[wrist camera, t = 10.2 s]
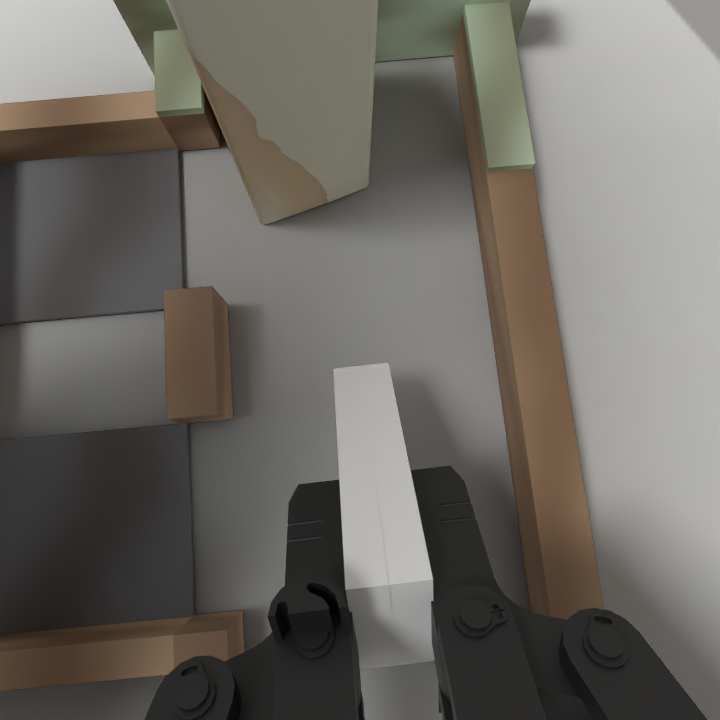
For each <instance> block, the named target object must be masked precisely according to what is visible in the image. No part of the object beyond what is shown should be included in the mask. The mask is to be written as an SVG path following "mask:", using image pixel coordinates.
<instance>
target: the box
mask: <svg viewBox="0 0 720 720" xmlns="http://www.w3.org/2000/svg"><path fill="white" fill-rule="evenodd" d="M166 2H167V4H168V6H169V9H170V11H171V13H172V16H173V18H174V20H175V23H176V25H177V27H178V30H179V32H180V34H181V37H182V39H183V41H184V44H185V46H186V48H187V51H188V53H189V55H190V58H191V60H192V62H193V65H194V67H195V69H196V72H197V74H198V76H199V79H200V81H201V83H202V86H203V88H204V90H205V93H206V95H207V97H208V100H209V102H210V104H211V107H212V109H213V111H214V114H215V116H216V118H217V121H218V123H219V126H220V128H221V131H222V133H223V135H224V138H225V140H226V142H227V145H228V147H229V150H230V152H231V154H232V157H233V159H234V161H235V164H236V166H237V168H238V171H239V173H240V175H241V178H242V180H243V182H244V184H245V187H246V189H247V191H248V194H249V196H250V198H251V201H252V203H253V206H254V208H255V210H256V213H257V215H258V217H259V219H260V221H261V223H263V224H269V223H272V222H275V221H278V220H281V219H284V218H286V217H289V216H292V215H295V214H298V213H301V212H304V211H306V210H309V209H312V208H315V207H317V206H320V205H323V204H325V203H328V202H331V201H333V200H336V199H339V198H341V197H344V196H346V195H349V194H351V193H354V192H357V191H359V190H362V189H364V188H366V187H367V186H368V184H369V171H370V149H371V131H372V113H373V94H374V74H375V53H376V33H377V15H378V0H166Z"/></svg>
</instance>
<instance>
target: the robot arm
mask: <svg viewBox="0 0 720 720" xmlns="http://www.w3.org/2000/svg"><path fill="white" fill-rule="evenodd" d="M333 375H334V393H335V411H336V429H337V447H338V465H339V480H334V481H325V482H316V483H307V484H299V485H298V487H297V488H296V490H295V492H294V494H293V496H292V498H291V500H290V502H289V510H288V531H287V553H286V574H285V587H283V588H282V589H281V590H280V591H279V592H278V594H277V595H276V596H275V598H274V599H273V601H272V602H271V606H270V609H269V613H268V619H269V622H270V625H271V629H272V633H271V634H270V635H269V636H268V637H267V638H266V639H265V640H264V641H263V642H262V643H260V644H258V645H257V646H255V647H253V648H252V649H250V650H248V651H246V652H244V653H241V654H239V655H237V656H235V657H233V658H231V659H229V660H226V661H223V660H221V659H218V658H216V657H213V656H210V655H207V656H195V657H193V658H191V659H188V660H186V661H184V662H182V663H180V664H179V665H178V666H177V667H176V668H174V669H173V670H172V671H171V672H170V673H169V674H168V675H167V676H166V678H165V679H164V681H163V682H162V684H161V686H160V687H159V689H158V690H157V692H156V695H155V697H154V699H153V702H152V704H151V706H150V708H149V711H148V713H147V715H146V718H145V720H365V717H364V703H363V698H362V692H361V679H360V670H365V669H373V668H381V667H390V666H398V665H407V664H415V663H423V662H432V661H434V658H435V664H436V669H437V674H438V680H439V713H442V715H443V720H707V719H706V717H705V716H704V715H703V714H702V712H701V711H700V710H699V708H698V707H697V706H696V705H695V703H694V702H693V701H692V699H691V698H690V697H689V696H688V694H687V693H686V692H685V690H684V689H683V688H682V687H681V685H680V684H679V683H678V681H677V680H676V679H675V678H674V676H673V675H672V674H671V673H670V671H669V670H668V669H667V667H666V666H665V665H664V664H663V662H662V661H661V660H660V658H659V657H658V656H657V655H656V653H655V652H654V651H653V649H652V648H651V647H650V646H649V644H648V643H647V642H646V640H645V639H644V638H643V637H642V635H641V634H640V633H639V632H638V631H637V630H636V629H635V628H634V627H633V626H632V625H631V624H630V623H629V622H628V621H627V620H626V619H624V618H622V617H621V616H619V615H617V614H615V613H613V612H611V611H608V610H603V609H598V608H589V609H583V610H579V611H578V612H576V613H575V614H573V615H572V616H570V617H569V618H568V620H566V619H561V618H556V617H551V616H546V615H541V614H537V613H533V612H530V611H527V610H525V609H523V608H521V607H519V606H517V605H516V604H514V603H513V602H512V601H511V600H509V599H508V598H507V597H506V596H505V595H504V594H503V592H502V591H501V590H500V588H499V587H498V585H497V583H496V581H495V578H494V576H493V572H492V569H491V566H490V563H489V560H488V556H487V553H486V550H485V547H484V544H483V540H482V537H481V534H480V531H479V528H478V524H477V521H476V520H475V515H474V512H473V508H472V505H471V504H470V499H469V495H468V492H467V489H466V486H465V483H464V481H463V480H462V479H461V477H460V476H459V475H458V474H457V473H456V472H455V471H454V470H453V469H452V467H451V466H444V467H436V468H427V469H418V470H410V465H409V461H408V456H407V451H406V446H405V441H404V436H403V432H402V427H401V422H400V417H399V412H398V407H397V402H396V398H395V393H394V388H393V383H392V378H391V373H390V369H389V364H388V362H387V363H378V364H369V365H360V366H351V367H342V368H334V369H333Z"/></svg>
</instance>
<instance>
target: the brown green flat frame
mask: <svg viewBox="0 0 720 720" xmlns="http://www.w3.org/2000/svg"><path fill="white" fill-rule="evenodd" d="M113 1H114V2H115V4H116V6H117V8H118V10H119V12H120V13H121V15H122V17H123V19H124V21H125V23H126V24H127V26H128V28H129V30H130V32H131V34H132V35H133V37H134V39H135V41H136V43H137V45H138V46H139V48H140V50H141V52H142V54H143V56H144V57H145V59H146V61H147V63H148V65H149V67H150V68H151V70H152V72H153V74H154V76H155V91H145V92H133V93H121V94H110V95H98V96H86V97H75V98H63V99H51V100H39V101H28V102H16V103H4V104H0V325H4V324H15V323H26V322H37V321H48V320H59V319H71V318H82V317H93V316H104V315H115V314H126V313H137V312H149V311H160V310H164V319H165V357H166V394H167V419H169V420H174V421H179V422H184V423H182V424H171V425H161V426H150V427H139V428H128V429H117V430H106V431H95V432H84V433H73V434H63V435H52V436H41V437H30V438H19V439H8V440H0V691H5V690H15V689H26V688H36V687H46V686H57V685H67V684H77V683H88V682H98V681H108V680H119V679H129V678H139V677H150V676H160V675H168V674H169V673H170V672H171V671H172V670H173V669H174V668H176V667H177V666H178V665H179V664H180V663H182V662H184V661H186V660H188V659H191V658H193V657H195V656H207V655H210V656H213V657H216V658H218V659H221V660H223V661H226V660H229V659H231V658H233V657H235V656H237V655H239V654H241V653H244V652H245V647H244V626H243V610H239V611H228V612H218V613H207V614H197V615H195V599H194V569H193V540H192V510H191V480H190V451H189V423H199V422H210V421H221V420H232V419H233V401H232V380H231V360H230V339H229V319H228V304H227V303H226V302H225V301H224V300H223V298H222V297H221V296H220V295H219V294H218V293H217V292H216V290H215V289H214V288H213V287H212V286H210V287H199V288H187V289H184V273H183V244H182V214H181V185H180V155H179V151H186V150H198V149H209V148H220V135H219V123H218V121H217V118H216V116H215V114H214V111H213V109H212V107H211V104H210V102H209V100H208V97H207V95H206V93H205V90H204V88H203V86H202V83H201V81H200V79H199V76H198V74H197V72H196V69H195V67H194V65H193V62H192V60H191V58H190V55H189V53H188V51H187V48H186V46H185V44H184V41H183V39H182V37H181V34H180V32H179V30H178V27H177V25H176V23H175V20H174V18H173V16H172V13H171V11H170V9H169V6H168V4H167V2H166V0H113ZM530 1H531V0H378V15H377V33H376V53H375V62H379V61H391V60H403V59H414V58H426V57H438V56H449V55H454V62H455V69H456V76H457V84H458V91H459V98H460V105H461V112H462V120H463V127H464V134H465V141H466V148H467V156H468V163H469V170H470V177H471V184H472V191H473V199H474V206H475V213H476V220H477V227H478V235H479V242H480V249H481V256H482V263H483V271H484V278H485V285H486V292H487V299H488V307H489V314H490V321H491V328H492V335H493V342H494V350H495V357H496V364H497V371H498V378H499V386H500V393H501V400H502V407H503V414H504V422H505V429H506V436H507V443H508V450H509V458H510V465H511V472H512V479H513V486H514V493H515V501H516V508H517V515H518V522H519V529H520V537H521V544H522V551H523V558H524V565H525V573H526V580H527V587H528V594H529V601H530V608H531V612H533V613H537V614H541V615H546V616H551V617H556V618H561V619H566V620H568V618H569V617H570V616H572V615H573V614H575V613H576V612H578V611H579V610H583V609H589V608H598V609H603V610H604V607H603V601H602V594H601V588H600V582H599V576H598V570H597V564H596V557H595V551H594V545H593V539H592V533H591V527H590V520H589V514H588V508H587V502H586V496H585V490H584V483H583V477H582V471H581V465H580V459H579V453H578V446H577V440H576V434H575V428H574V422H573V416H572V409H571V403H570V397H569V391H568V385H567V379H566V372H565V366H564V360H563V354H562V348H561V341H560V335H559V329H558V323H557V317H556V311H555V304H554V298H553V292H552V286H551V280H550V274H549V267H548V261H547V255H546V249H545V243H544V237H543V230H542V224H541V218H540V212H539V206H538V200H537V193H536V187H535V181H534V175H533V167H534V165H535V158H534V152H533V146H532V140H531V134H530V128H529V121H528V115H527V109H526V103H525V97H524V91H523V85H522V79H521V73H520V66H519V60H518V54H517V48H516V39H517V36H518V33H519V31H520V28H521V25H522V23H523V20H524V17H525V14H526V12H527V9H528V6H529V3H530Z"/></svg>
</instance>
